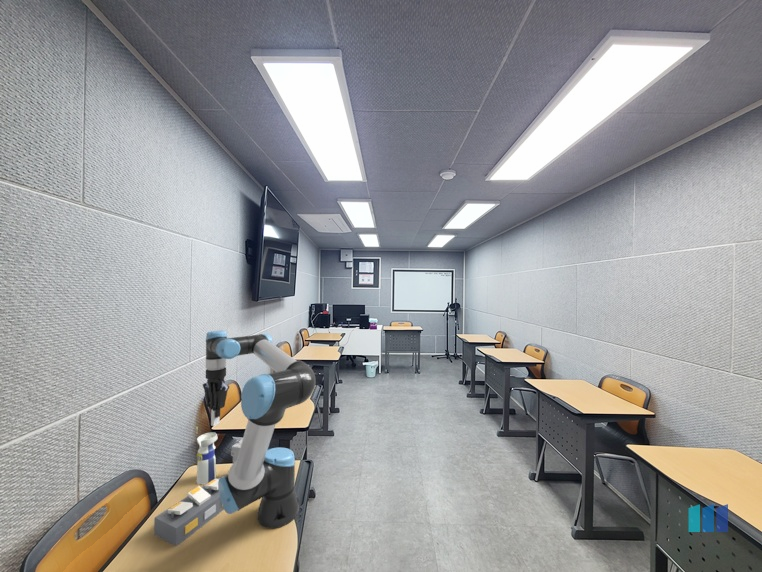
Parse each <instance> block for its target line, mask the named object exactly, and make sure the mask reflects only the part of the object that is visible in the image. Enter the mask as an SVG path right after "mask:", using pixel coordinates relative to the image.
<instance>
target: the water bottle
mask: <svg viewBox="0 0 762 572" xmlns="http://www.w3.org/2000/svg"><path fill="white" fill-rule="evenodd" d="M198 431H199V429H198V426H196V427H195V433H196V434H198ZM217 440H218V434H217V433H216V432H212V431H211V432H205V433H203V434H201V435H199V436H198V437H197V438H196V442H197V444H196V445H198V446H199V447H198V450H197V454H196V459H197V462H196V463H197V465H196V466H197V467H196V468H197V469H196V484H197V485H206V484H207V483H209V482H210V481H212V480H214V479H215V478H217V470H216V469H217V467H216V464H217V463H216V459H217V458H216V455H215V449H216V445H215V442H216V441H217Z"/></svg>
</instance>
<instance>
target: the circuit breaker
mask: <svg viewBox="0 0 762 572" xmlns="http://www.w3.org/2000/svg"><path fill="white" fill-rule="evenodd" d="M242 440H243V438H241V439H240V440H239V441H238V442H236V443H234V444H233V445H231V450H230V456H231V457H232V465H233V464H234V463H235V462H236V461H237V458H238V454H239V451H240V447H241V444H242Z"/></svg>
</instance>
